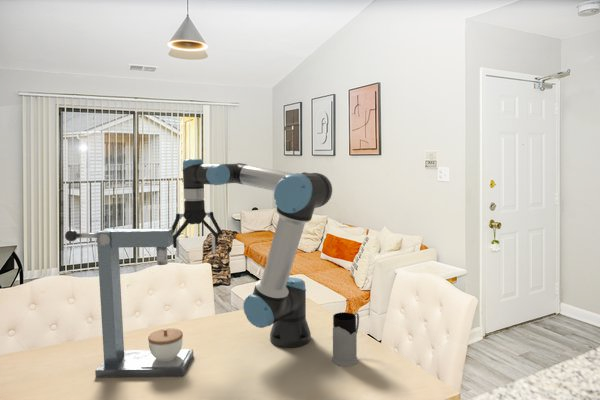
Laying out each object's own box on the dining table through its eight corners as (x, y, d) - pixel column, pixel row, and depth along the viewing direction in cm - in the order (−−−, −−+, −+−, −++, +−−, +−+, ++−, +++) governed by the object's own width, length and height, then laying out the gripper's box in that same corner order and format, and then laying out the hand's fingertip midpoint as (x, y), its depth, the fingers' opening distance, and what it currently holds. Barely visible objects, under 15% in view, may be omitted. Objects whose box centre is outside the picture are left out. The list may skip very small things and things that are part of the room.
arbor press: (193, 356, 148) (188, 225, 144) (182, 376, 134) (176, 232, 130) (84, 357, 148) (76, 226, 144) (62, 377, 134) (52, 234, 130)
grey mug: (326, 361, 143) (326, 317, 142) (347, 346, 155) (347, 305, 153) (350, 368, 138) (350, 323, 137) (369, 352, 150) (369, 310, 148)
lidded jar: (173, 366, 135) (172, 337, 134) (142, 363, 137) (141, 335, 136) (189, 351, 145) (188, 324, 144) (160, 349, 148) (158, 322, 147)
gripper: (225, 197, 172) (226, 250, 174) (159, 200, 164) (161, 255, 166) (228, 199, 165) (230, 253, 167) (160, 202, 157) (162, 259, 159)
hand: (196, 254), depth 166 cm, fingers open, 13 cm apart
